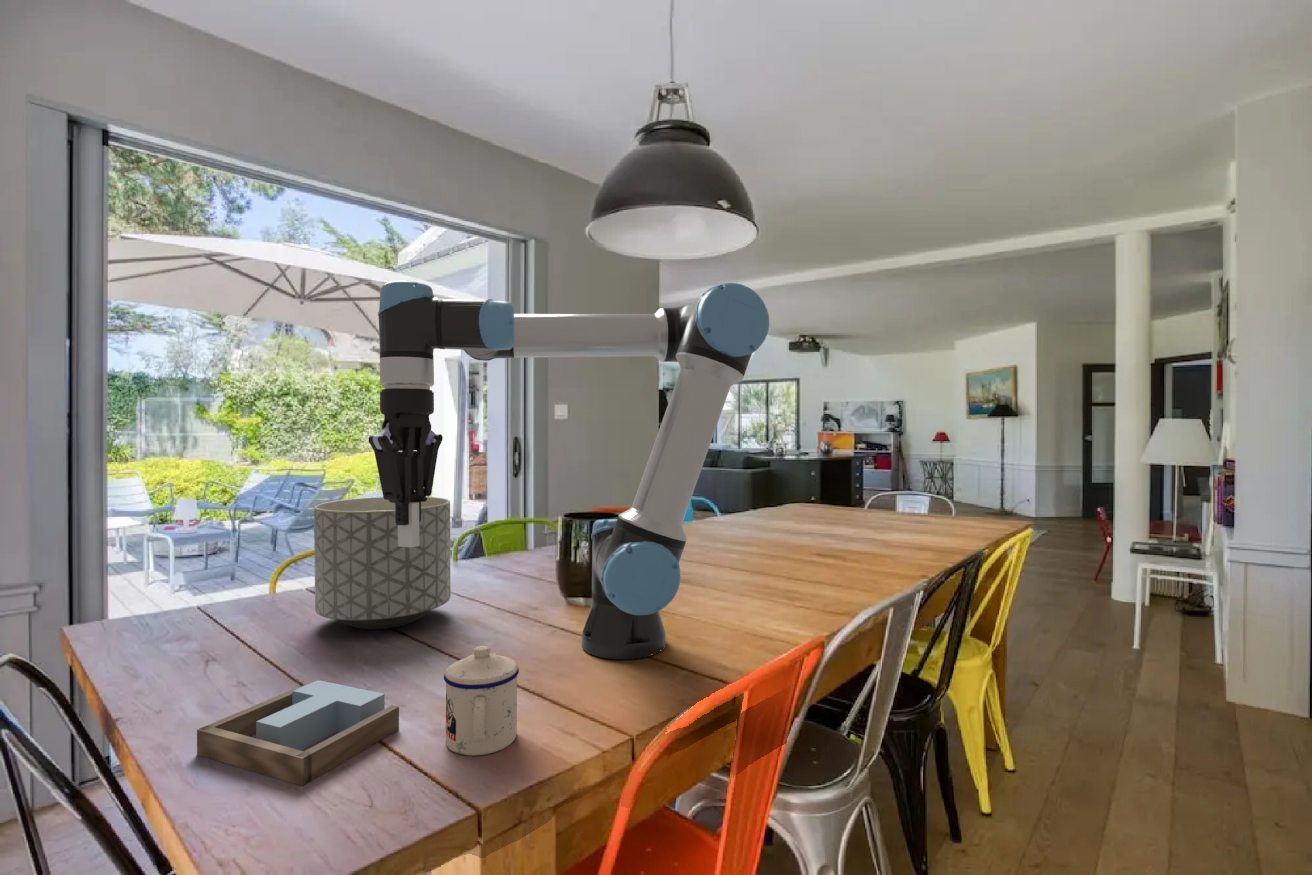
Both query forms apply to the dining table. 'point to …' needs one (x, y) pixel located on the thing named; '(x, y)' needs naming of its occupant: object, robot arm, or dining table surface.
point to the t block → (318, 714)
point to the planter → (379, 563)
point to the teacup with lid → (481, 703)
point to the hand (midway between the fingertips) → (408, 545)
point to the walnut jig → (286, 763)
